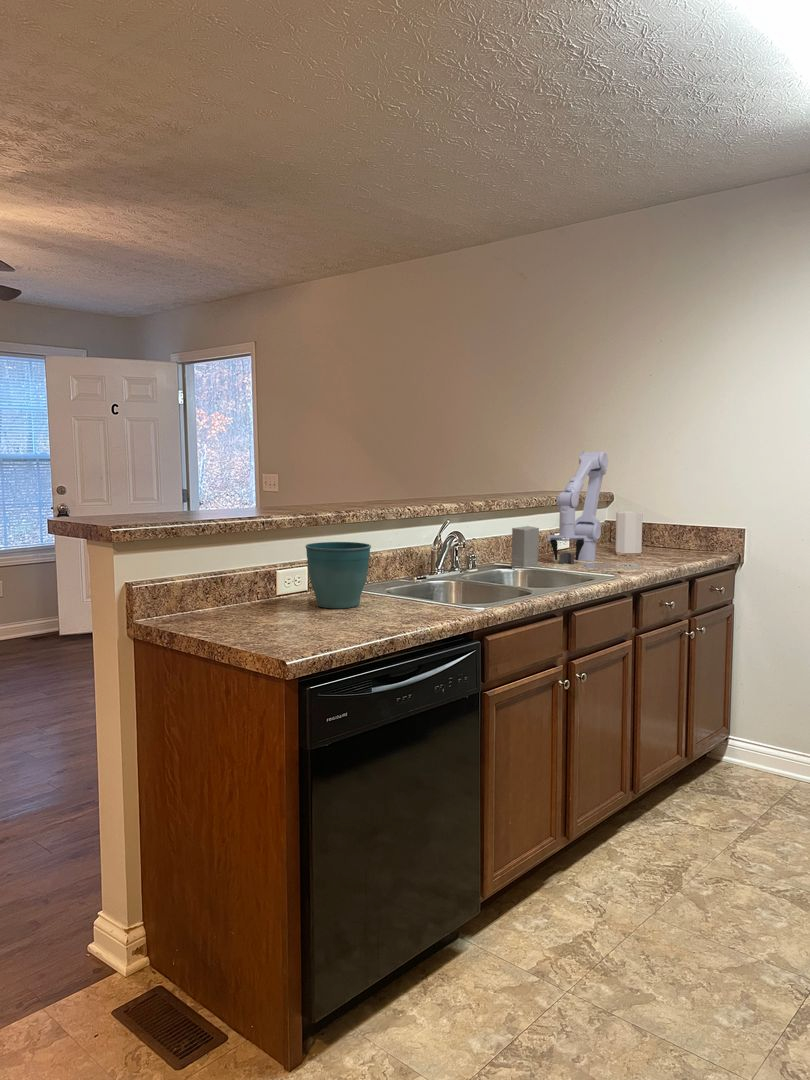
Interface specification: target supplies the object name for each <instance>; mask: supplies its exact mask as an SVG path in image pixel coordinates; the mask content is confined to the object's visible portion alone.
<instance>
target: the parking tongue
mask: <svg viewBox="0 0 810 1080" xmlns="http://www.w3.org/2000/svg"><path fill="white" fill-rule="evenodd" d="M554 563H555V564H556V566H572V565H571V564H570V563H564V564H560V563H559V561H555V562H554ZM573 566H579V564H578V563H577V562H576V561H574V565H573Z"/></svg>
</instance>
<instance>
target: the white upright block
mask: <svg viewBox="0 0 810 1080" xmlns="http://www.w3.org/2000/svg"><path fill="white" fill-rule="evenodd" d="M615 513H616V514H615V516H616V518H615V548H614V549H615V550H614V551H616V552H621V553H641V552H642V548H643V547H642V544H643V517H644V515H643V512H642V511H635V510H631V511H628V510H627V511H625V510H623V511H622V510H621V511H616V512H615ZM642 553H643V552H642Z"/></svg>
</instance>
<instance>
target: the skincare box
mask: <svg viewBox="0 0 810 1080" xmlns="http://www.w3.org/2000/svg"><path fill="white" fill-rule="evenodd" d="M539 531H540V528H539V527H537V526H535V527H534V526H529V525H525V526H520V527H512V529H511V563H510V564H511V567H516V568H517V567H519V568H528V567H537V566H539V564H538V563H539V539H540V538H539V535H540V532H539Z"/></svg>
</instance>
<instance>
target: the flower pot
mask: <svg viewBox="0 0 810 1080" xmlns="http://www.w3.org/2000/svg"><path fill="white" fill-rule="evenodd" d="M305 548H306V561H307V562H306V563H307V571H308V578H309V581H310V584H311V587H312V590H313V593H314V596H315V601H316V602H315V604H316V606H318V607H320V608H325V609H349V608H351V607H352V608H355V607H358V606H360V601H361V596H362V593H363V590H364V587H365V584H366V581H367V577H368V573H369V564H370V563H369V561H370V554H371V548H372V545H371V544H370V543H366V542H365V543H364V542H356V541H352V542H351V541H327V542H326V541H325V542H324V541H323V542H322V541H321V542H313V543H307V544H305Z"/></svg>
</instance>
